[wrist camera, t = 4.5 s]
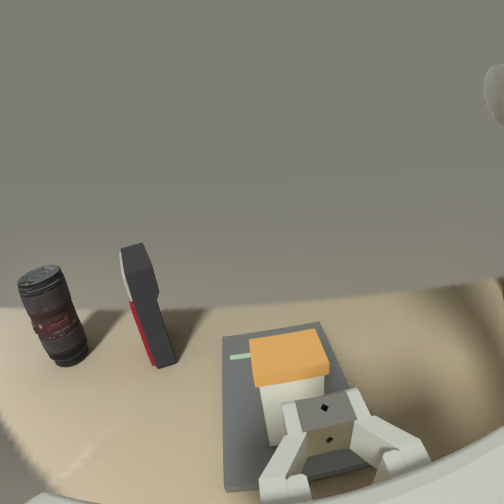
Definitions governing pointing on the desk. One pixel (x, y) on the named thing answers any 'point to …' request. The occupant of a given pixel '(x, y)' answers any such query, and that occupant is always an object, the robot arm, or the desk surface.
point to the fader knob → (287, 373)
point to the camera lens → (53, 315)
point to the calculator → (146, 304)
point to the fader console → (253, 420)
